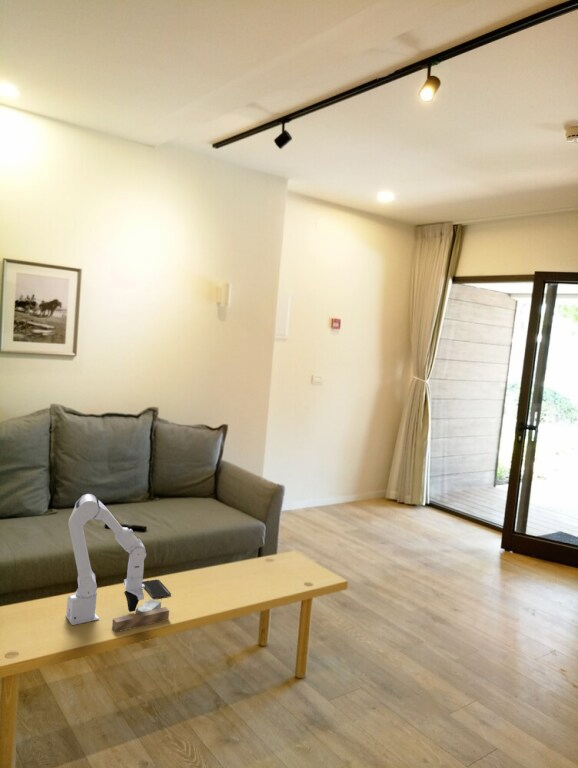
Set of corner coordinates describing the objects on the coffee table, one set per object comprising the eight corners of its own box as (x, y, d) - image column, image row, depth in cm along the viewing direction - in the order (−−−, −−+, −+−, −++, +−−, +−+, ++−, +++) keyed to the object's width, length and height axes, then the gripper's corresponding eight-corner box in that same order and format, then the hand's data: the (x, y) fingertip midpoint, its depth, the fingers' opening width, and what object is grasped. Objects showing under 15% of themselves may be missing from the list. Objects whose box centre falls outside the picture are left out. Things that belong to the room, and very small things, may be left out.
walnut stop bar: (115, 632, 192) (116, 622, 192) (112, 628, 194) (112, 618, 194) (168, 619, 204) (169, 610, 204) (164, 615, 207) (165, 606, 206)
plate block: (147, 621, 202) (147, 613, 202) (135, 617, 204) (135, 610, 203) (160, 609, 212) (161, 601, 212) (148, 606, 213) (149, 598, 213)
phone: (158, 579, 236) (171, 594, 223) (158, 581, 236) (171, 596, 223) (140, 581, 231) (152, 597, 219) (140, 584, 231) (152, 600, 219)
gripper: (153, 580, 202) (149, 617, 203) (137, 566, 213) (134, 600, 214) (134, 584, 197) (131, 621, 198) (119, 569, 209) (116, 603, 210)
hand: (131, 610), depth 206 cm, fingers closed
